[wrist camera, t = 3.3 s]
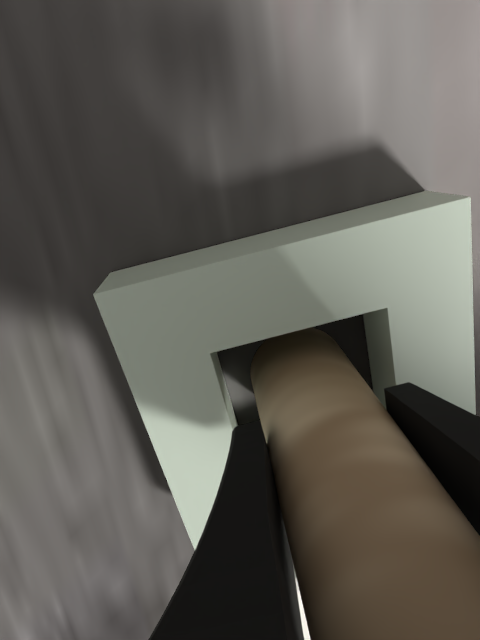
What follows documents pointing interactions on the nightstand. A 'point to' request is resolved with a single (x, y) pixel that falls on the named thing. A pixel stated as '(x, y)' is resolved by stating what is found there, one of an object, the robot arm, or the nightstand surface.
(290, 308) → the holder
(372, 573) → the dowel
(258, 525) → the robot arm
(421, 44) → the nightstand surface
